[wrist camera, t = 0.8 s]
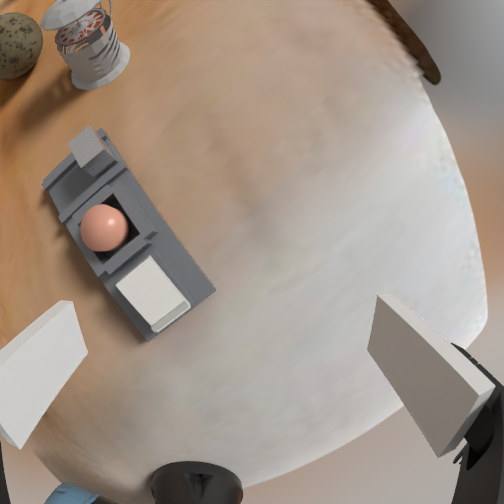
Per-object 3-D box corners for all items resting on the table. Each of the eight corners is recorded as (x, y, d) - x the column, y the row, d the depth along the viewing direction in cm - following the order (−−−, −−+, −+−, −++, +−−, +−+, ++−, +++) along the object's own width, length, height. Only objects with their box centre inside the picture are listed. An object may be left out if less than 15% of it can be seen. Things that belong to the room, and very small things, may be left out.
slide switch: (98, 179, 27) (80, 168, 22) (85, 157, 26) (67, 143, 21) (118, 162, 27) (104, 148, 22) (104, 141, 26) (89, 125, 22)
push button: (106, 259, 25) (95, 260, 22) (85, 226, 25) (73, 224, 22) (137, 233, 26) (129, 231, 23) (115, 199, 25) (105, 194, 22)
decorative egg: (56, 62, 26) (19, 10, 11) (8, 102, 25) (-39, 65, 10) (50, 34, 25) (21, -13, 10) (5, 69, 23) (-31, 32, 9)
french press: (61, 91, 27) (-20, -10, 2) (92, 36, 27) (49, -69, 2) (115, 90, 28) (50, -47, 4) (144, 33, 28) (122, -93, 4)
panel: (150, 336, 30) (142, 351, 25) (50, 183, 27) (30, 175, 22) (215, 287, 31) (216, 295, 26) (106, 133, 29) (93, 117, 24)
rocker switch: (157, 327, 27) (157, 335, 25) (117, 281, 25) (114, 287, 23) (189, 303, 27) (191, 310, 25) (149, 254, 25) (148, 258, 23)
